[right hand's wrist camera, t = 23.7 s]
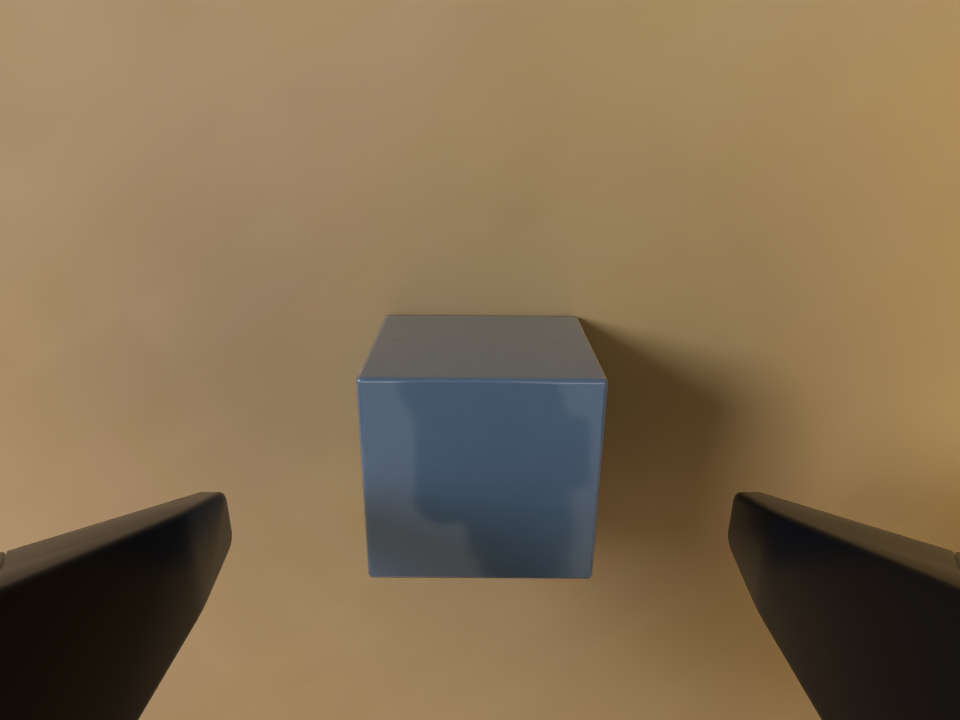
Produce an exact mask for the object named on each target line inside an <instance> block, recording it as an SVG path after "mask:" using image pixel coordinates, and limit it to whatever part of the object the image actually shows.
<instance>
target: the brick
mask: <svg viewBox="0 0 960 720" xmlns="http://www.w3.org/2000/svg"><path fill="white" fill-rule="evenodd" d="M356 387H357V402H358V418H359V434H360V449H361V465H362V481H363V497H364V512H365V528H366V544H367V559H368V573H369V575H370V577H388V578H557V579H589V578H591V576H592V573H593V561H594V549H595V537H596V525H597V514H598V502H599V490H600V478H601V466H602V454H603V442H604V431H605V419H606V407H607V395H608V380H607V378H606V376H605V374H604V372H603V370H602V367H601V365H600V363H599V361H598V359H597V357H596V355H595V353H594V351H593V349H592V347H591V345H590V343H589V341H588V339H587V337H586V335H585V332H584V330H583V328H582V326H581V324H580V322H579V320H578V318H577V317H564V316H431V315H388V316H386V317H385V319H384V322H383V324H382V326H381V328H380V330H379V332H378V334H377V337H376V339H375V341H374V343H373V345H372V347H371V350H370V352H369V354H368V356H367V358H366V360H365V362H364V365H363V367H362V369H361V371H360V373H359V375H358V377H357V380H356Z"/></svg>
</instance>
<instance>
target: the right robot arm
mask: <svg viewBox="0 0 960 720" xmlns="http://www.w3.org/2000/svg"><path fill="white" fill-rule="evenodd" d="M231 539H232V531H231V525H230V518H229V512H228V506H227V500H226V497H225V495H224V494H223V493H221V492H200V493H196V494H193V495H190V496H187V497H183V498H180V499H177V500H173V501H170V502H167V503H164V504H160V505H157V506H154V507H150V508H147V509H144V510H141V511H137V512H134V513H131V514H127V515H124V516H121V517H118V518H114V519H111V520H108V521H104V522H101V523H98V524H95V525H91V526H88V527H85V528H82V529H78V530H75V531H72V532H68V533H65V534H62V535H59V536H55V537H52V538H49V539H45V540H42V541H39V542H36V543H32V544H29V545H26V546H22V547H19V548H16V549H13V550H9V551H7V553H6V555H5V553H4V552H0V720H138V719H139V718H140V716H141V714H142V712H143V711H144V709H145V707H146V706H147V704H148V702H149V701H150V699H151V697H152V696H153V694H154V692H155V690H156V689H157V687H158V685H159V684H160V682H161V680H162V679H163V677H164V675H165V673H166V672H167V670H168V668H169V667H170V665H171V663H172V662H173V660H174V658H175V657H176V655H177V653H178V651H179V650H180V648H181V646H182V645H183V643H184V641H185V640H186V638H187V636H188V634H189V633H190V631H191V629H192V628H193V626H194V624H195V623H196V621H197V619H198V617H199V615H200V614H201V612H202V610H203V608H204V606H205V604H206V602H207V599H208V597H209V595H210V593H211V590H212V588H213V586H214V583H215V581H216V579H217V576H218V574H219V572H220V569H221V567H222V565H223V562H224V560H225V558H226V555H227V553H228V551H229V548H230V545H231ZM728 539H729V545H730V548H731V551H732V553H733V555H734V558H735V560H736V562H737V565H738V567H739V569H740V572H741V574H742V576H743V579H744V581H745V583H746V586H747V588H748V590H749V593H750V595H751V597H752V600H753V602H754V604H755V606H756V608H757V610H758V612H759V614H760V615H761V617H762V619H763V621H764V623H765V624H766V626H767V628H768V629H769V631H770V633H771V634H772V636H773V638H774V640H775V641H776V643H777V645H778V646H779V648H780V650H781V651H782V653H783V655H784V657H785V658H786V660H787V662H788V663H789V665H790V667H791V668H792V670H793V672H794V673H795V675H796V677H797V679H798V680H799V682H800V684H801V685H802V687H803V689H804V690H805V692H806V694H807V696H808V697H809V699H810V701H811V702H812V704H813V706H814V707H815V709H816V711H817V712H818V714H819V716H820V718H821V719H822V720H960V552H956V553H955V555H954V552H953V551H951V550H947V549H944V548H941V547H938V546H934V545H931V544H928V543H924V542H921V541H918V540H915V539H911V538H908V537H905V536H901V535H898V534H895V533H892V532H888V531H885V530H882V529H878V528H875V527H872V526H869V525H865V524H862V523H859V522H856V521H852V520H849V519H846V518H842V517H839V516H836V515H833V514H829V513H826V512H823V511H819V510H816V509H813V508H810V507H806V506H803V505H800V504H796V503H793V502H790V501H787V500H783V499H780V498H777V497H773V496H770V495H767V494H764V493H760V492H739V493H737V494H736V495H735V497H734V500H733V506H732V512H731V518H730V525H729V531H728Z"/></svg>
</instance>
